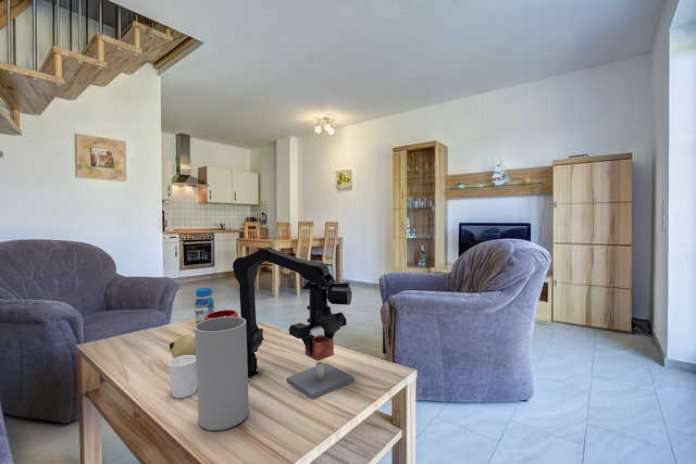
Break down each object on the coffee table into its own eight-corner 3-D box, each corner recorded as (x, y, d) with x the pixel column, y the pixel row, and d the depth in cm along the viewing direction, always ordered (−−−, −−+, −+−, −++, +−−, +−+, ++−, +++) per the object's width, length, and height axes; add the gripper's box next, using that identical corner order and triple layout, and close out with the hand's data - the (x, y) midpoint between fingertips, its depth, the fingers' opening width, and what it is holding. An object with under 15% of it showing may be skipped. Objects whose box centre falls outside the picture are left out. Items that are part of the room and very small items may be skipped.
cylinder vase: (198, 437, 81) (194, 335, 80) (198, 410, 93) (195, 320, 92) (252, 424, 86) (248, 327, 85) (245, 400, 98) (243, 314, 97)
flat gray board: (312, 399, 97) (312, 379, 97) (286, 382, 108) (286, 363, 108) (353, 381, 108) (353, 362, 108) (326, 366, 118) (326, 350, 118)
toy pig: (190, 354, 131) (189, 327, 131) (208, 361, 125) (207, 333, 124) (164, 364, 123) (163, 335, 123) (183, 372, 116) (181, 341, 116)
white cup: (179, 402, 97) (178, 368, 97) (164, 395, 101) (162, 362, 101) (204, 390, 104) (202, 358, 104) (188, 383, 108) (187, 353, 108)
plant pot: (226, 333, 155) (225, 307, 154) (244, 339, 147) (243, 312, 146) (199, 342, 144) (198, 314, 143) (217, 349, 136) (216, 319, 136)
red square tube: (317, 361, 103) (316, 344, 103) (305, 354, 108) (305, 339, 108) (333, 355, 107) (333, 339, 107) (321, 349, 112) (321, 334, 112)
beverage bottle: (218, 331, 158) (216, 288, 158) (200, 335, 152) (198, 291, 151) (210, 327, 164) (208, 286, 163) (192, 331, 158) (190, 289, 157)
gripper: (308, 314, 95) (309, 369, 95) (357, 302, 107) (358, 351, 108) (287, 306, 103) (288, 357, 104) (335, 296, 115) (336, 341, 116)
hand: (319, 351), depth 107 cm, fingers closed on red square tube, 6 cm apart
